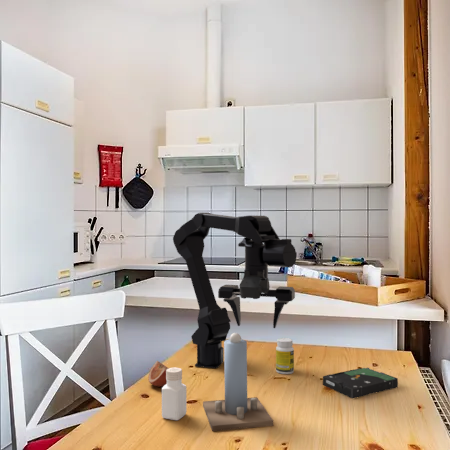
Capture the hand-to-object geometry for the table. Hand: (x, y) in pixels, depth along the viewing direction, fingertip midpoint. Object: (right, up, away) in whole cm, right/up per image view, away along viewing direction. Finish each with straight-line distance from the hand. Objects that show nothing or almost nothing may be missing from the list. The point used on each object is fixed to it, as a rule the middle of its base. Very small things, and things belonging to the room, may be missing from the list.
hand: (256, 326), depth 116 cm
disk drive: (+24, -14, -6) cm, 29 cm away
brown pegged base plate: (-6, -13, -22) cm, 26 cm away
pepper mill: (-6, -12, -22) cm, 26 cm away
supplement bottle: (+8, -13, +5) cm, 16 cm away
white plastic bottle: (-18, -13, -23) cm, 32 cm away
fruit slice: (-23, -13, -4) cm, 27 cm away
